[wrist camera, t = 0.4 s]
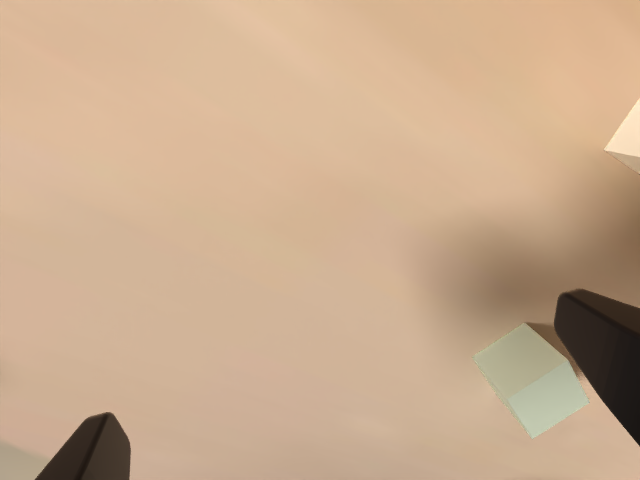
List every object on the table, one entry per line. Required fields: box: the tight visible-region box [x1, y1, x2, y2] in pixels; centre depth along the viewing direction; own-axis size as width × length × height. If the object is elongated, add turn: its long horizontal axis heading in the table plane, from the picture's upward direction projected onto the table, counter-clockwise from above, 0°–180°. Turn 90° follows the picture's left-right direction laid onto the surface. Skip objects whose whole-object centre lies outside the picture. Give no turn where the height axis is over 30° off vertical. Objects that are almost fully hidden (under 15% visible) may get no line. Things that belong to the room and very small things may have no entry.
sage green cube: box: [472, 322, 590, 439], centre depth 26 cm, size 4×4×4 cm
